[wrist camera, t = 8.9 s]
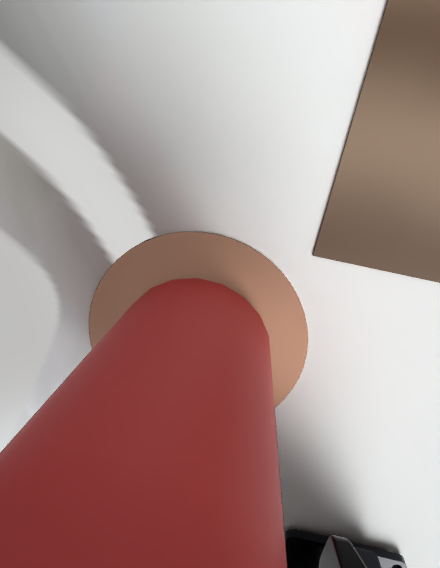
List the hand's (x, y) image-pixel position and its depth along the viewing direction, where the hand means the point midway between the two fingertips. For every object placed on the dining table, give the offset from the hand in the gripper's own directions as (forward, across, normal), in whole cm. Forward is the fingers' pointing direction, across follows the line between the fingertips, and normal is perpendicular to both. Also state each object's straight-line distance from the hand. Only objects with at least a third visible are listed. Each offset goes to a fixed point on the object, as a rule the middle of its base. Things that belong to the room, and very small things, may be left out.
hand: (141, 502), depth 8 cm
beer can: (+8, 0, 0) cm, 8 cm away
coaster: (+8, 0, 0) cm, 8 cm away
